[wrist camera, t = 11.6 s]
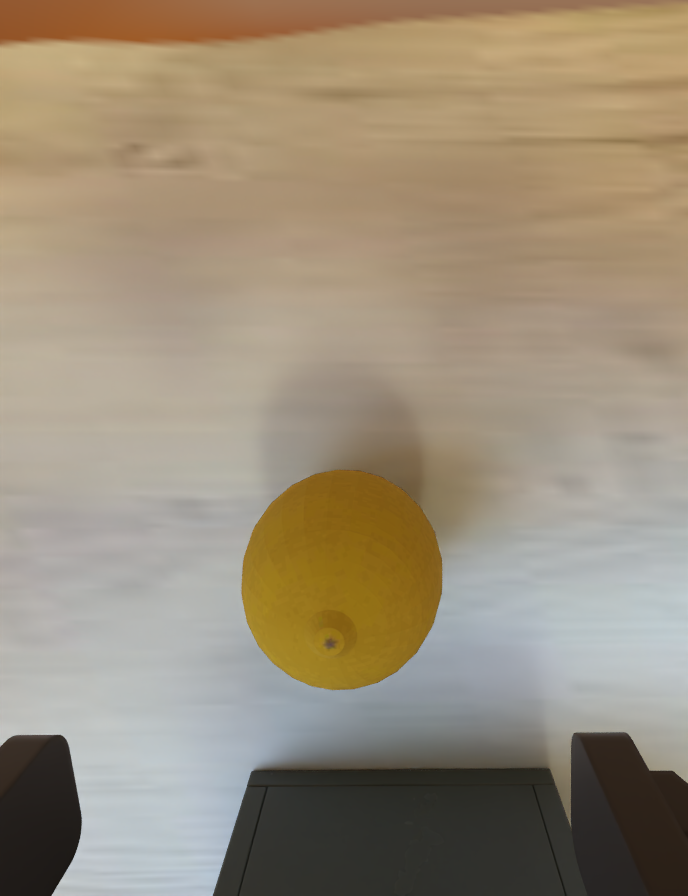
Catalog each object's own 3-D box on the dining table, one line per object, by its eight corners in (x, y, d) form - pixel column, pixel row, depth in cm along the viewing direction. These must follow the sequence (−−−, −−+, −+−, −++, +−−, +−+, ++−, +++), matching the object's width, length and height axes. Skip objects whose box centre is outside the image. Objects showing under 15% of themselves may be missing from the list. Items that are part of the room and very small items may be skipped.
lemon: (312, 619, 22) (268, 783, 14) (247, 481, 21) (162, 576, 13) (457, 566, 21) (495, 710, 13) (396, 420, 20) (398, 483, 13)
